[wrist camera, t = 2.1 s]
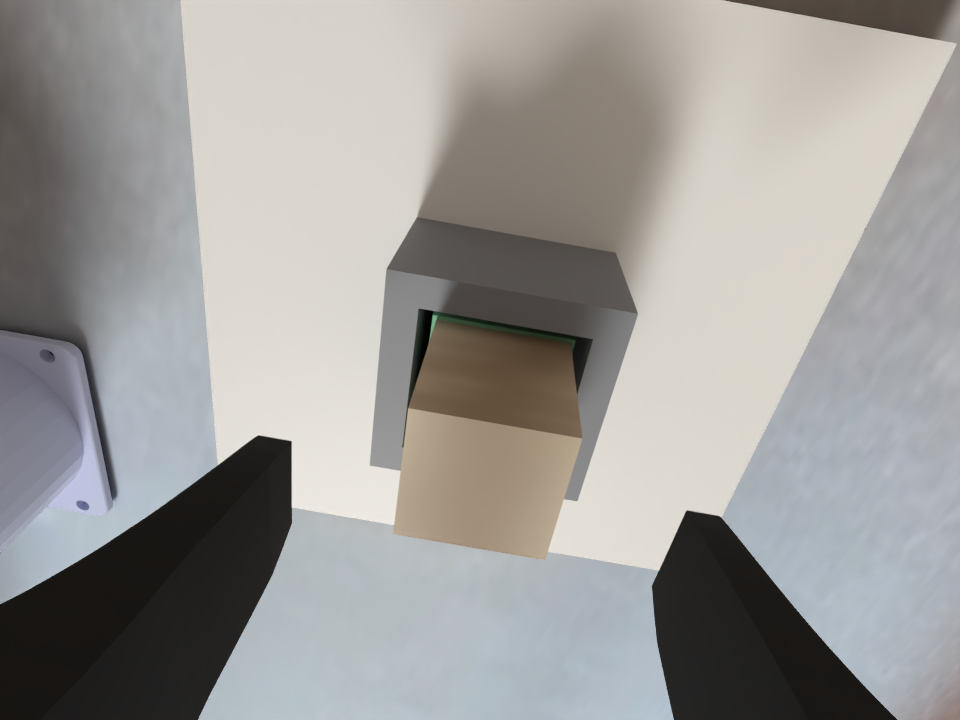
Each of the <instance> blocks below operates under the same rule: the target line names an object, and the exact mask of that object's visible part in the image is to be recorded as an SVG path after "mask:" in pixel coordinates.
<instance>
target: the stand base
mask: <svg viewBox="0 0 960 720" xmlns="http://www.w3.org/2000/svg"><path fill="white" fill-rule="evenodd" d="M180 2H181V14H182V26H183V39H184V51H185V64H186V76H187V89H188V101H189V113H190V126H191V138H192V151H193V163H194V175H195V188H196V200H197V213H198V225H199V237H200V250H201V262H202V275H203V287H204V300H205V312H206V324H207V337H208V349H209V362H210V374H211V386H212V399H213V411H214V424H215V436H216V448H217V461H218V465H219V464H220V463H221V462H223V461H224V460H225V459H227V458H228V457H229V456H231V455H232V454H233V453H234V452H236V451H237V450H238V449H240V448H241V447H242V446H244V445H245V444H246V443H248V442H249V441H250V440H252V439H253V438H255V437H256V436H258V435H260V436H266V437H272V438H277V439H283V440H289V441H292V508H298V509H304V510H310V511H316V512H322V513H327V514H333V515H339V516H345V517H351V518H356V519H362V520H368V521H374V522H380V523H385V524H391V525H394V522H395V514H396V506H397V497H398V489H399V481H400V472H401V464H402V456H403V447H404V439H405V430H406V422H407V414H408V407H409V404H410V401H411V398H412V395H413V391H414V388H415V385H416V382H417V379H418V376H419V373H420V370H421V366H422V363H423V360H424V357H425V354H426V351H427V348H428V344H429V340H430V332H431V325H432V317H433V313H434V311H437V312H442V313H448V314H454V315H459V316H465V317H471V318H476V319H482V320H487V321H493V322H499V323H504V324H510V325H516V326H521V327H527V328H533V329H538V330H544V331H550V332H555V333H561V334H567V335H572V336H575V338H576V342H575V345H574V349H573V353H572V358H573V366H574V374H575V382H576V390H577V398H578V406H579V414H580V422H581V430H582V438H583V439H582V442H581V445H580V448H579V452H578V455H577V458H576V461H575V465H574V468H573V471H572V474H571V478H570V481H569V484H568V487H567V491H566V494H565V497H564V500H563V504H562V507H561V510H560V513H559V517H558V520H557V523H556V526H555V530H554V533H553V536H552V539H551V543H550V546H549V549H548V552H554V553H560V554H566V555H572V556H577V557H583V558H589V559H595V560H601V561H607V562H612V563H618V564H624V565H630V566H636V567H641V568H647V569H653V570H660V567H661V565H662V563H663V561H664V559H665V556H666V554H667V552H668V550H669V548H670V545H671V543H672V541H673V539H674V537H675V534H676V532H677V530H678V528H679V526H680V523H681V521H682V519H683V517H684V515H685V512H686V510H688V511H694V512H699V513H705V514H711V515H717V516H720V517H722V515H723V513H724V511H725V509H726V507H727V505H728V503H729V501H730V499H731V497H732V495H733V493H734V491H735V489H736V487H737V485H738V483H739V481H740V479H741V477H742V475H743V473H744V471H745V469H746V467H747V465H748V463H749V461H750V459H751V457H752V455H753V453H754V451H755V449H756V447H757V445H758V443H759V441H760V439H761V437H762V435H763V433H764V431H765V429H766V427H767V425H768V423H769V421H770V419H771V417H772V415H773V413H774V411H775V409H776V407H777V405H778V403H779V401H780V399H781V397H782V395H783V393H784V391H785V389H786V387H787V385H788V383H789V381H790V379H791V377H792V375H793V373H794V371H795V369H796V367H797V365H798V363H799V360H800V358H801V356H802V354H803V352H804V350H805V348H806V346H807V344H808V342H809V340H810V338H811V336H812V334H813V332H814V330H815V328H816V326H817V324H818V322H819V320H820V318H821V316H822V314H823V312H824V310H825V308H826V306H827V304H828V302H829V300H830V298H831V296H832V294H833V292H834V290H835V288H836V286H837V284H838V282H839V280H840V278H841V276H842V274H843V272H844V270H845V268H846V266H847V264H848V262H849V260H850V258H851V256H852V254H853V252H854V250H855V248H856V246H857V244H858V242H859V240H860V238H861V236H862V234H863V232H864V230H865V228H866V226H867V224H868V222H869V220H870V218H871V216H872V214H873V212H874V210H875V208H876V206H877V204H878V202H879V200H880V198H881V196H882V194H883V192H884V189H885V187H886V185H887V183H888V181H889V179H890V177H891V175H892V173H893V171H894V169H895V167H896V165H897V163H898V161H899V159H900V157H901V155H902V153H903V151H904V149H905V147H906V145H907V143H908V141H909V139H910V137H911V135H912V133H913V131H914V129H915V127H916V125H917V123H918V121H919V119H920V117H921V115H922V113H923V111H924V109H925V107H926V105H927V103H928V101H929V99H930V97H931V95H932V93H933V91H934V89H935V87H936V85H937V83H938V81H939V79H940V77H941V75H942V73H943V71H944V69H945V67H946V65H947V63H948V61H949V59H950V57H951V55H952V53H953V51H954V49H955V47H956V45H957V44H956V43H950V42H945V41H940V40H934V39H929V38H924V37H918V36H913V35H907V34H902V33H897V32H891V31H886V30H880V29H875V28H870V27H864V26H859V25H854V24H848V23H843V22H837V21H832V20H827V19H821V18H816V17H810V16H805V15H800V14H794V13H789V12H783V11H778V10H773V9H767V8H762V7H757V6H751V5H746V4H740V3H735V2H730V1H724V0H180Z"/></svg>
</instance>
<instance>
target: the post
mask: <svg viewBox="0 0 960 720" xmlns="http://www.w3.org/2000/svg"><path fill="white" fill-rule="evenodd" d="M575 342H576V338H575V336H572V335H567V334H561V333H555V332H550V331H544V330H538V329H533V328H527V327H521V326H516V325H510V324H504V323H499V322H493V321H487V320H482V319H476V318H471V317H465V316H459V315H454V314H448V313H442V312H437V311H434V313H433V317H432V325H431V332H430V340H429V344H428V348H427V351H426V354H425V357H424V360H423V363H422V366H421V370H420V373H419V376H418V379H417V382H416V385H415V388H414V391H413V395H412V398H411V401H410V404H409V407H408V414H407V422H406V430H405V439H404V447H403V456H402V464H401V472H400V481H399V489H398V497H397V506H396V514H395V522H394V531H393V534H397V535H402V536H408V537H414V538H420V539H426V540H432V541H437V542H443V543H449V544H455V545H461V546H466V547H472V548H478V549H484V550H490V551H496V552H501V553H507V554H513V555H519V556H525V557H531V558H536V559H542V560H545V559H546V556H547V552H548V549H549V546H550V543H551V539H552V536H553V533H554V530H555V526H556V523H557V520H558V517H559V513H560V510H561V507H562V504H563V500H564V497H565V494H566V491H567V487H568V484H569V481H570V478H571V474H572V471H573V468H574V465H575V461H576V458H577V455H578V452H579V448H580V445H581V442H582V439H583V438H582V430H581V422H580V414H579V406H578V398H577V390H576V382H575V374H574V366H573V358H572V353H573V349H574V345H575Z"/></svg>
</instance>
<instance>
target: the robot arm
mask: <svg viewBox="0 0 960 720" xmlns="http://www.w3.org/2000/svg"><path fill="white" fill-rule="evenodd" d="M49 351H50V352H51V353H53V354H54V356H53V355H51V354H50V353H49ZM46 507H49V508H55V509H61V510H67V511H73V512H78V513H84V514H90V515H96V516H103V515H106V514H107V513H108V512H109V511H110V509H111V508H112V507H113V502H112V497H111V492H110V487H109V482H108V477H107V472H106V467H105V463H104V458H103V453H102V448H101V443H100V438H99V433H98V428H97V423H96V418H95V413H94V408H93V404H92V399H91V394H90V389H89V384H88V379H87V374H86V369H85V364H84V359H83V355H82V353H81V351H80V350H79V349H78V347H76V346H75V345H73V344H72V343H69V342H66V341H61V340H55V339H49V338H44V337H38V336H32V335H26V334H21V333H15V332H9V331H4V330H0V552H1V551H2V550H3V549H4V548H5V547H6V546H7V545H8V544H9V543H10V542H11V541H12V540H13V539H14V538H15V537H16V536H17V535H18V534H19V533H20V532H21V531H22V530H23V529H24V528H25V527H26V526H27V525H28V524H29V523H30V522H31V521H32V520H33V519H34V518H35V517H36V516H37V515H38V514H39V513H40V512H41V511H42V510H43V509H45V508H46ZM291 524H292V441H289V440H283V439H277V438H272V437H266V436H260V435H258V436H256V437H255V438H253V439H252V440H250V441H249V442H248V443H246V444H245V445H244V446H242V447H241V448H240V449H238V450H237V451H236V452H234V453H233V454H232V455H231V456H229V457H228V458H227V459H225V460H224V461H223V462H221V463H220V464H219V465H218V466H216V467H215V468H214V469H212V470H211V471H210V472H208V473H207V474H206V475H204V476H203V477H202V478H200V479H199V480H198V481H196V482H195V483H194V484H192V485H191V486H190V487H188V488H187V489H185V490H184V491H183V492H181V493H180V494H178V495H177V496H176V497H174V498H173V499H172V500H170V501H169V502H167V503H166V504H165V505H163V506H162V507H161V508H159V509H158V510H156V511H155V512H153V513H152V514H151V515H149V516H148V517H146V518H145V519H143V520H142V521H140V522H139V523H137V524H136V525H134V526H133V527H131V528H129V529H128V530H126V531H125V532H123V533H122V534H120V535H119V536H117V537H116V538H114V539H113V540H111V541H110V542H108V543H107V544H105V545H104V546H102V547H101V548H99V549H97V550H96V551H94V552H93V553H91V554H89V555H88V556H86V557H84V558H83V559H81V560H79V561H78V562H76V563H74V564H73V565H71V566H69V567H68V568H66V569H64V570H63V571H61V572H59V573H57V574H56V575H54V576H52V577H50V578H49V579H47V580H45V581H43V582H42V583H40V584H38V585H36V586H35V587H33V588H31V589H29V590H27V591H25V592H24V593H22V594H20V595H18V596H16V597H14V598H12V599H10V600H8V601H6V602H4V603H2V604H0V720H198V718H199V716H200V714H201V712H202V710H203V708H204V706H205V703H206V701H207V699H208V697H209V695H210V693H211V691H212V689H213V688H214V686H215V684H216V682H217V680H218V678H219V676H220V674H221V672H222V670H223V668H224V667H225V665H226V663H227V661H228V659H229V657H230V655H231V653H232V651H233V649H234V648H235V646H236V644H237V642H238V640H239V638H240V636H241V634H242V632H243V630H244V628H245V627H246V625H247V623H248V621H249V619H250V617H251V615H252V613H253V611H254V609H255V607H256V605H257V604H258V602H259V600H260V598H261V596H262V594H263V592H264V590H265V588H266V586H267V584H268V582H269V580H270V578H271V576H272V574H273V571H274V569H275V566H276V564H277V561H278V559H279V556H280V554H281V551H282V548H283V546H284V543H285V540H286V537H287V535H288V532H289V529H290V527H291ZM652 591H653V604H654V616H655V626H656V635H657V643H658V648H659V653H660V658H661V663H662V667H663V672H664V677H665V681H666V686H667V690H668V695H669V699H670V704H671V708H672V713H673V717H674V720H897V719H896V718H895V717H894V716H893V715H892V714H891V713H890V712H889V711H888V710H887V709H886V708H885V707H884V706H883V705H882V704H881V703H880V702H879V701H878V700H877V699H876V698H875V697H874V696H873V695H872V694H871V693H870V692H869V691H868V690H867V689H866V687H865V686H864V685H863V684H862V683H861V682H860V681H859V680H858V679H857V678H856V677H855V676H854V674H853V673H852V672H851V671H850V670H849V669H848V668H847V667H846V666H845V665H844V664H843V662H842V661H841V660H840V659H839V658H838V657H837V656H836V655H835V654H834V653H833V652H832V650H831V649H830V648H829V647H828V646H827V645H826V644H825V643H824V641H823V640H822V639H821V638H820V637H819V636H818V635H817V633H816V632H815V631H814V630H813V629H812V628H811V626H810V625H809V624H808V623H807V622H806V621H805V619H804V618H803V617H802V616H801V615H800V614H799V612H798V611H797V610H796V609H795V608H794V606H793V605H792V604H791V603H790V602H789V600H788V599H787V598H786V597H785V595H784V594H783V593H782V592H781V591H780V589H779V588H778V587H777V586H776V584H775V583H774V582H773V581H772V580H771V578H770V577H769V576H768V575H767V573H766V572H765V571H764V570H763V568H762V567H761V566H760V565H759V563H758V562H757V561H756V560H755V558H754V557H753V556H752V555H751V553H750V552H749V551H748V550H747V548H746V547H745V546H744V545H743V543H742V542H741V541H740V540H739V539H738V537H737V536H736V535H735V534H734V532H733V531H732V530H731V529H730V528H729V526H728V525H727V524H726V523H725V522H724V520H723V519H722V518H721V517H720V516H717V515H711V514H705V513H699V512H694V511H688V510H686V512H685V515H684V517H683V519H682V521H681V523H680V526H679V528H678V530H677V532H676V534H675V537H674V539H673V541H672V543H671V545H670V548H669V550H668V552H667V554H666V556H665V559H664V561H663V563H662V565H661V567H660V570H659V572H658V574H657V576H656V578H655V581H654V583H653V585H652Z"/></svg>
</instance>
